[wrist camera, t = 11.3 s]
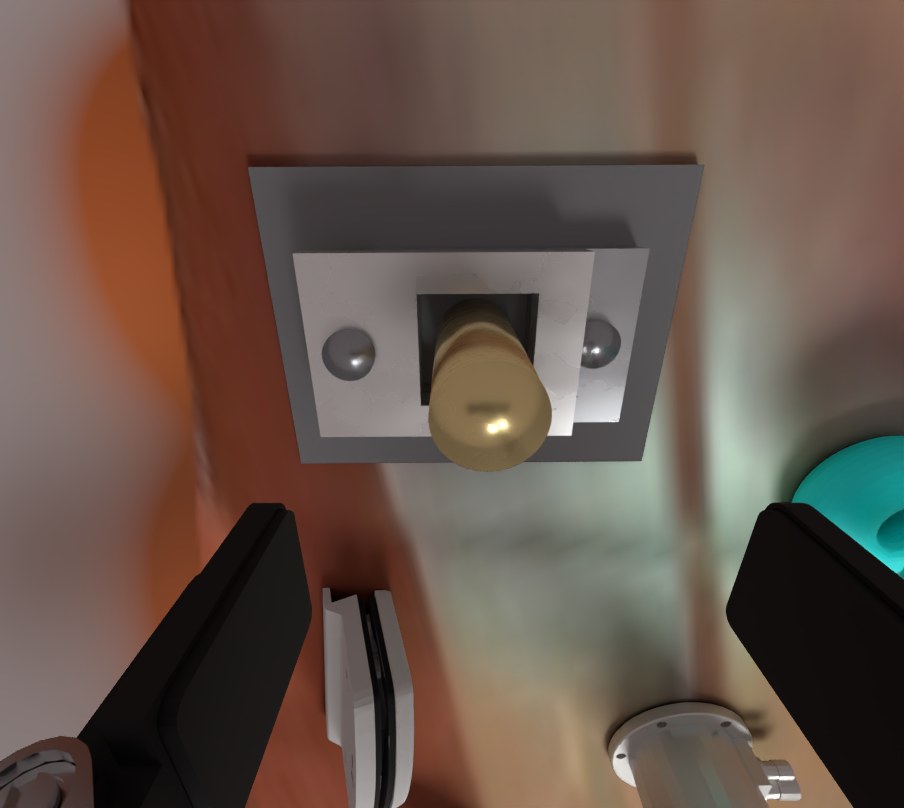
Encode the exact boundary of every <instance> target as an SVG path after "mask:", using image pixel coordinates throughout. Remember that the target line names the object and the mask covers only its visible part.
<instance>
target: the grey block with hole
mask: <svg viewBox="0 0 904 808" xmlns="http://www.w3.org/2000/svg"><path fill="white" fill-rule="evenodd" d="M649 250H650V248H645V247H640V246H542V247H374V248H372V249H370V250H303V251H299V252H296V253H293V260H294V266H295V273H296V279H297V286H298V293H299V299H300V306H301V312H302V319H303V325H304V332H305V338H306V345H307V351H308V358H309V364H310V371H311V377H312V384H313V390H314V397H315V403H316V410H317V416H318V423H319V430H320V436H321V437H416V436H431V433H430V429H429V423H428V412H429V403H430V394H431V384H432V383H429V384H424V365H423V336H422V308H421V294H527V308H526V322H525V337H524V350H525V352H526V354H527V356H528V358H529V359H530V361H531V363H532V365H533V367H534V369H535V371H536V373H537V374H538V376H539V378H540V380H541V382H542V384H543V386H544V388H545V389H546V391H547V394H548V396H549V399H550V402H551V408H552V420H551V426H550V429H549V432H548V435H547V436H571V435H572V427H573V422H619V418H620V412H621V407H622V401H623V396H624V390H625V384H626V379H627V373H628V368H629V362H630V356H631V351H632V345H633V340H634V334H635V328H636V323H637V317H638V312H639V306H640V300H641V295H642V289H643V284H644V278H645V273H646V267H647V261H648V256H649Z"/></svg>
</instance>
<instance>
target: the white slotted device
mask: <svg viewBox="0 0 904 808" xmlns="http://www.w3.org/2000/svg"><path fill="white" fill-rule="evenodd" d="M323 624H324V664H325V703H326V725H327V736H328V739H329V740H330V741H332V742H334V743H336V744H338V745H340V746H341V747H342V751H343V759H344V768H345V776H346V784H347V793H348V801H349V808H397V807H399V806H400V805H401V804H403V803H404V802H405V800H406V798H407V796H408V793H409V788H410V783H411V777H412V767H413V748H414V704H413V686H412V680H411V675H410V671H409V666H408V662H407V658H406V654H405V650H404V645H403V641H402V637H401V633H400V629H399V624H398V620H397V616H396V612H395V607H394V603H393V599H392V595H391V592H389V591H385V590H376V591H375V594H374V597H371V598H370V600H369V614H367V615H366V612H365V606H364V601H363V599H361V600H358V599H357V594H356V595H353V596H350V597H347V598H344V599H341V600H338V601H335V602H331V594H330V588H323Z"/></svg>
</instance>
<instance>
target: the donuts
mask: <svg viewBox="0 0 904 808" xmlns="http://www.w3.org/2000/svg"><path fill="white" fill-rule="evenodd" d="M791 503H806V504H809V505H811V506H812V507H814V508H815V509H816V510H818V511H819V512H820V513H821V514H823V515H824V516H825V517H826V518H828V519H829V520H830V521H831V522H833V523H834V524H835V525H836V526H838V527H839V528H840V529H841V530H843V531H844V532H845V533H846V534H848V535H849V536H850V537H851V538H853V539H854V540H855V541H856V542H858V543H859V544H860V545H861V546H863V547H864V548H865V549H866V550H868V551H869V552H870V553H871V554H873V555H874V556H875V557H876V558H878V559H879V560H880V561H881V562H883V563H884V564H885V565H886V566H888V567H889V568H890V569H891V570H893V571H894V572H895V573H898V572H900V573H899V576H900V577H901V578H903V579H904V436H885V437H878V438H874V439H870V440H866V441H863V442H859V443H856V444H854V445H852V446H849V447H847V448H845V449H842V450H841V451H839V452H837V453H835V454H833V455H832V456H830V457H829V458H827V459H826V460H824V461H823V462H822V463H820V464H819V465H818V466H817V467H816V468H814V469H813V470H812V471H811V472H810V473H809V474H808V475H807V477H806V478H805V479H804V480H803V481H802V483H801V484H800V486H799V488H798V489H797V491H796V492H795V494H794V497H793V499H792V502H791Z"/></svg>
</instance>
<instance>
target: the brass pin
mask: <svg viewBox="0 0 904 808" xmlns="http://www.w3.org/2000/svg"><path fill="white" fill-rule="evenodd" d="M551 420H552V408H551V402H550V399H549V396H548V394H547V391H546V389H545V388H544V386H543V384H542V382H541V380H540V378H539V376H538V374H537V373H536V371H535V369H534V367H533V365H532V363H531V361H530V359H529V358H528V356H527V354H526V352H525V350H524V348H523V346H522V344H521V343H520V341H519V339H518V337H517V335H516V333H515V331H514V329H513V328H512V326H511V324H510V322H509V320H508V318H507V316H506V315H505V313H504V312H503V311H502V310H501V309H500V308H499V307H498V306H497V305H495V304H494V303H492V302H490V301H487V300H483V299H475V298H474V299H466V300H463V301H460V302H458V303H456V304H454V305H453V306H451V307H450V308H449V309H448V310H447V311H446V312H445V313H444V315H443V316H442V318H441V320H440V322H439V325H438V329H437V337H436V347H435V356H434V365H433V375H432V384H431V394H430V403H429V412H428V423H429V429H430V433H431V436H432V438H433V441H434V442H435V444H436V446H437V447H438V448H439V450H440V451H441V452H442V453H443V454H444V455H445V456H446V457H447V458H448V459H450V460H451V461H453V462H454V463H456V464H458V465H460V466H462V467H465V468H468V469H471V470H476V471H487V472H489V471H499V470H504V469H508V468H511V467H513V466H516V465H518V464H520V463H522V462H523V461H525V460H526V459H528V458H529V457H531V456H532V455H533V454H534V453H535V452H536V451H537V450H538V449H539V448H540V446H541V445H542V444H543V442H544V440H545V439H546V437H547V435H548V432H549V429H550V426H551Z"/></svg>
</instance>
